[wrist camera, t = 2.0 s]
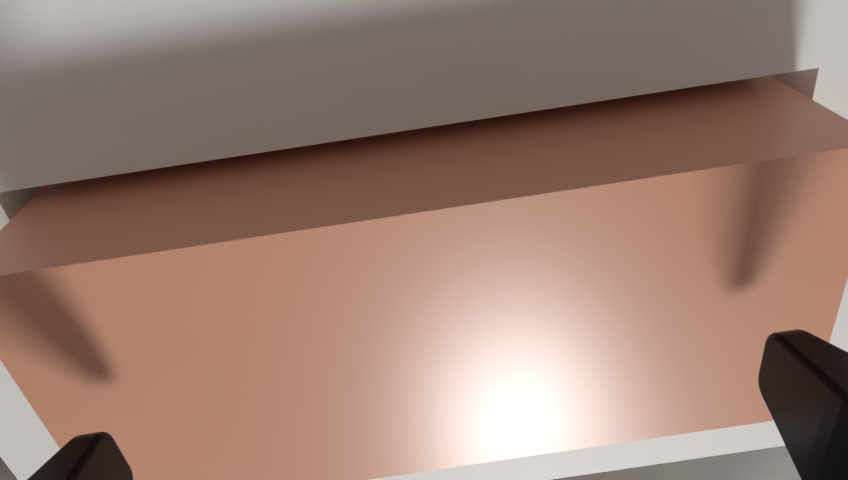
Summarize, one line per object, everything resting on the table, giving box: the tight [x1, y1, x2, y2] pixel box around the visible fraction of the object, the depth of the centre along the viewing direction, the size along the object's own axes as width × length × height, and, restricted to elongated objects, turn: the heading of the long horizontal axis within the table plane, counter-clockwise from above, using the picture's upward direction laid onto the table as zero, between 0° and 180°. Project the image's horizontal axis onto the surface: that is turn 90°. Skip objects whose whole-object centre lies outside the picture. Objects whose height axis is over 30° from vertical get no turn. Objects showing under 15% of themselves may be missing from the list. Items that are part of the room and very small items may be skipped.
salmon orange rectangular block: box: [0, 75, 848, 480], centre depth 11 cm, size 12×5×4 cm, turn 97°
